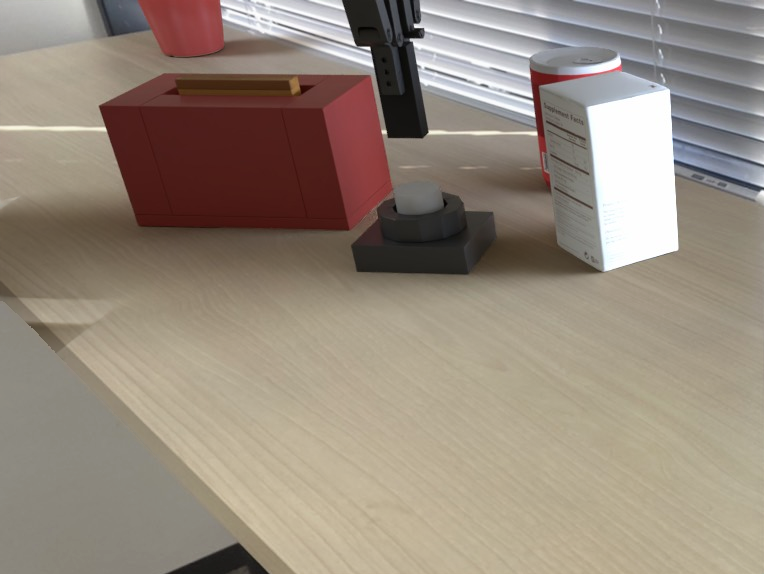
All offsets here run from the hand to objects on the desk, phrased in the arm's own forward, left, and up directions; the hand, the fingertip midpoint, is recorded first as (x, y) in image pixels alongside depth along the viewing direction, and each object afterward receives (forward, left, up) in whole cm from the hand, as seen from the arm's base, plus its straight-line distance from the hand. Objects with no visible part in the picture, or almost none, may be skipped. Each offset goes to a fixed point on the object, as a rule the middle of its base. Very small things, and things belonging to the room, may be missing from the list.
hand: (408, 135), depth 87 cm
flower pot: (-55, +68, -10) cm, 88 cm away
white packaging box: (+15, +2, -10) cm, 18 cm away
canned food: (+9, +18, -10) cm, 22 cm away
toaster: (-18, +10, -9) cm, 23 cm away
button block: (0, 0, -9) cm, 9 cm away
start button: (0, 0, -6) cm, 6 cm away
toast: (-18, +10, -8) cm, 22 cm away
